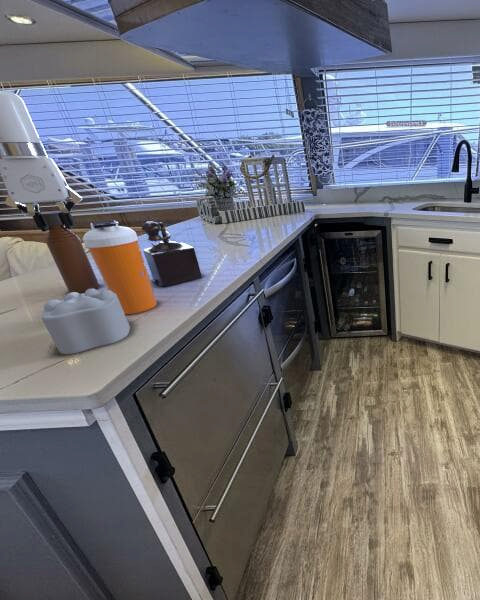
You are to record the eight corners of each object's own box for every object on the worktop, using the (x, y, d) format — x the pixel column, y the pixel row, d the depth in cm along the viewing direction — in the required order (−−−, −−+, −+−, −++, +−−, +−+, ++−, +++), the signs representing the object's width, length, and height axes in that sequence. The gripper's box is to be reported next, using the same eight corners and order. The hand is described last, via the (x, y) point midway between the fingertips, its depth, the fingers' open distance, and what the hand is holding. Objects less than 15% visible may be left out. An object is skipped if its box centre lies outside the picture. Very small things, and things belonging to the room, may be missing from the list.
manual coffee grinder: (150, 280, 94) (127, 218, 87) (191, 271, 102) (173, 213, 95) (165, 292, 85) (141, 223, 77) (210, 280, 92) (191, 217, 85)
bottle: (65, 295, 86) (29, 219, 78) (73, 288, 91) (40, 216, 83) (96, 290, 88) (64, 216, 81) (102, 283, 94) (73, 213, 86)
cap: (40, 226, 80) (34, 214, 79) (51, 224, 84) (46, 212, 83) (60, 225, 81) (55, 213, 80) (70, 222, 85) (65, 211, 84)
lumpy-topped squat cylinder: (55, 358, 56) (30, 313, 53) (66, 331, 66) (46, 292, 62) (129, 338, 62) (111, 297, 58) (130, 316, 71) (114, 279, 68)
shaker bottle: (124, 319, 70) (85, 227, 62) (108, 311, 74) (69, 224, 66) (168, 304, 77) (138, 220, 69) (151, 298, 81) (121, 217, 73)
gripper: (-39, 152, 69) (6, 236, 77) (64, 150, 77) (96, 227, 84) (-19, 153, 75) (20, 231, 83) (74, 152, 83) (103, 223, 90)
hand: (58, 228), depth 83 cm, fingers closed on cap, 4 cm apart
